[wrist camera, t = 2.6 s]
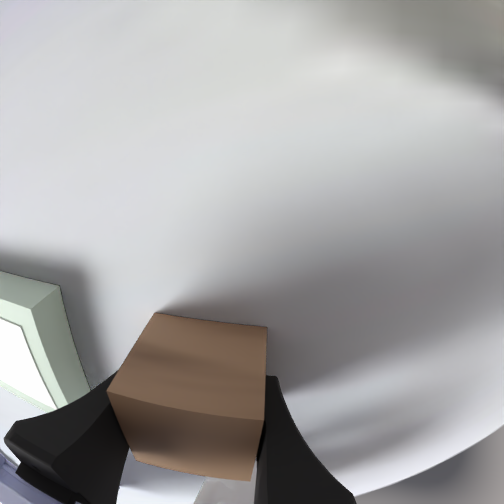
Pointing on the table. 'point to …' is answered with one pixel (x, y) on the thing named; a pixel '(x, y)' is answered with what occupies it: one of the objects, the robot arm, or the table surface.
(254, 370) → the walnut cube
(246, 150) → the table surface
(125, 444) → the robot arm
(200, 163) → the table surface
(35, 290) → the base plate
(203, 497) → the mug
